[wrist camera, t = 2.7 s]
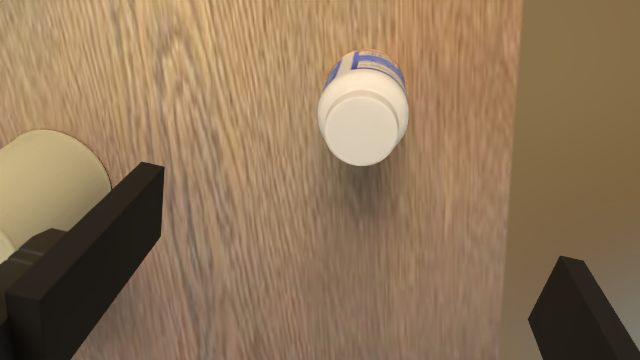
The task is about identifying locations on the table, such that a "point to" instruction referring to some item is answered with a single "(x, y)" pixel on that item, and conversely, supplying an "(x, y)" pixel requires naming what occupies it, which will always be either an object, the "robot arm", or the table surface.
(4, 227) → the can
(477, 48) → the table surface
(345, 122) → the pill bottle
